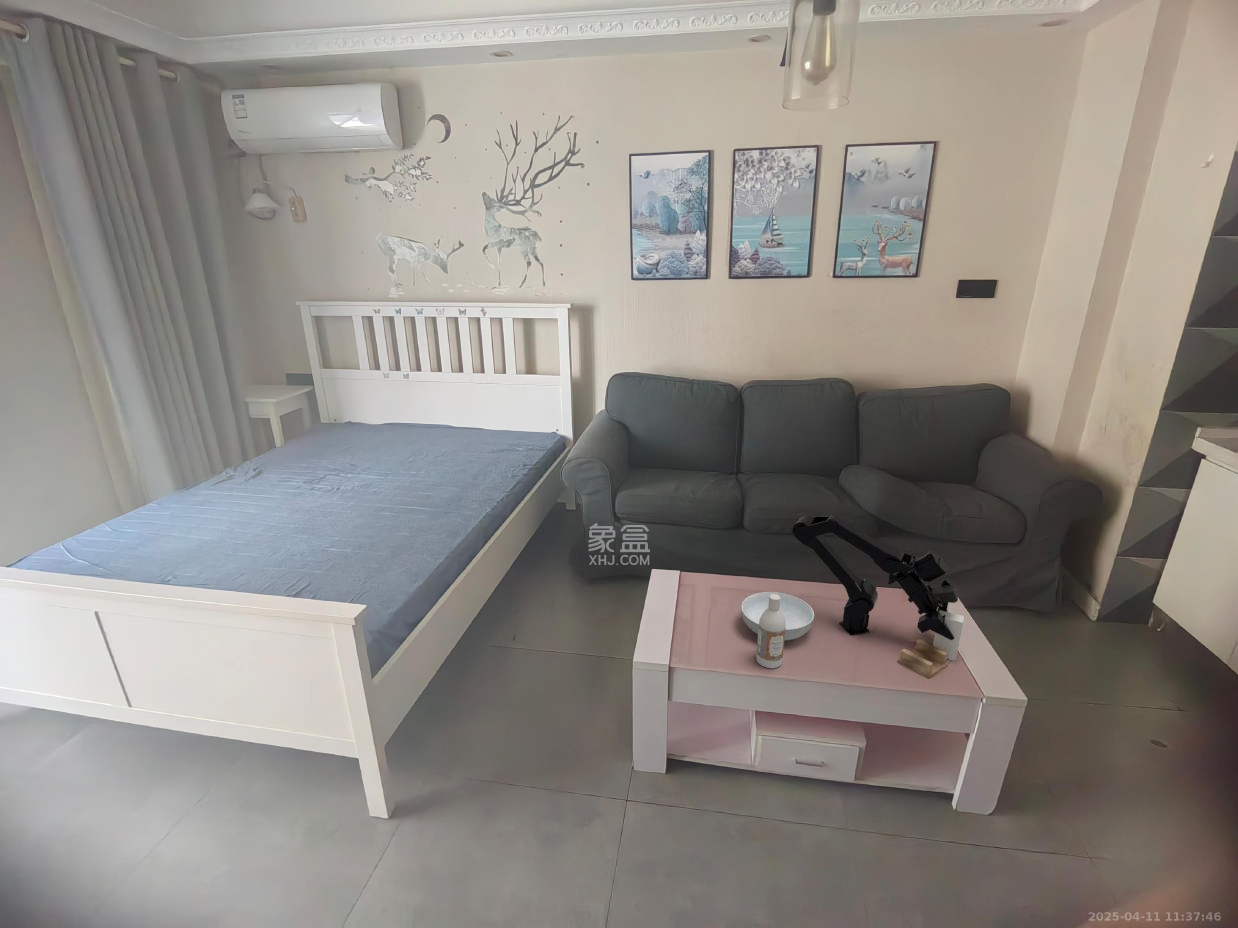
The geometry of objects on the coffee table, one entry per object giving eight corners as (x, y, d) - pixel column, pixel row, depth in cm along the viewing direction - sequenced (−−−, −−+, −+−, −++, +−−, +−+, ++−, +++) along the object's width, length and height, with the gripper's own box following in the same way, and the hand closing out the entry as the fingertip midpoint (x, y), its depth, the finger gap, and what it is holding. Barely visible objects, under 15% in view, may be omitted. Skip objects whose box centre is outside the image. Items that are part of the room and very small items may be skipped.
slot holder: (897, 661, 167) (899, 649, 166) (915, 649, 172) (917, 638, 171) (929, 678, 160) (931, 666, 159) (947, 665, 165) (949, 653, 164)
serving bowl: (740, 607, 194) (741, 588, 192) (809, 614, 190) (811, 595, 188) (739, 645, 175) (740, 624, 173) (815, 654, 171) (817, 632, 169)
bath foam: (763, 670, 163) (768, 604, 157) (751, 655, 170) (756, 591, 164) (786, 667, 165) (793, 601, 159) (774, 652, 171) (780, 588, 165)
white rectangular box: (931, 653, 171) (938, 616, 167) (932, 647, 174) (939, 609, 170) (955, 660, 168) (963, 622, 164) (956, 653, 171) (964, 616, 167)
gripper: (938, 589, 158) (979, 639, 156) (945, 561, 173) (982, 607, 171) (900, 608, 164) (940, 656, 162) (910, 579, 179) (946, 623, 177)
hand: (953, 634), depth 168 cm, fingers open, 5 cm apart
